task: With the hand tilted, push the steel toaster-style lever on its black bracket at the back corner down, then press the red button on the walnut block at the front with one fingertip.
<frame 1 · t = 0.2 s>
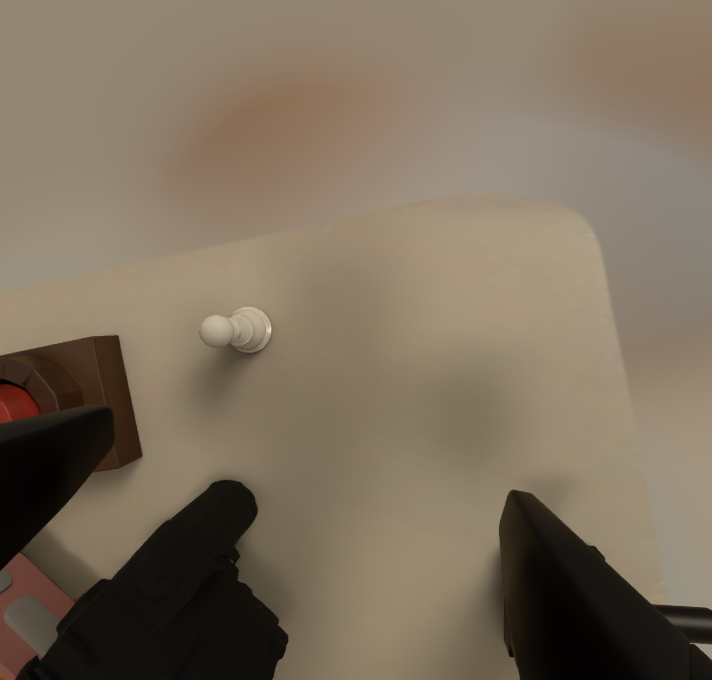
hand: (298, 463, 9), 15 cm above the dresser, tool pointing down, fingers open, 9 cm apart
film camera: (213, 590, 26), on the dresser, touching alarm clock
chess pawn: (251, 329, 25), on the dresser
button box: (62, 408, 27), on the dresser
bracket: (548, 594, 23), on the dresser
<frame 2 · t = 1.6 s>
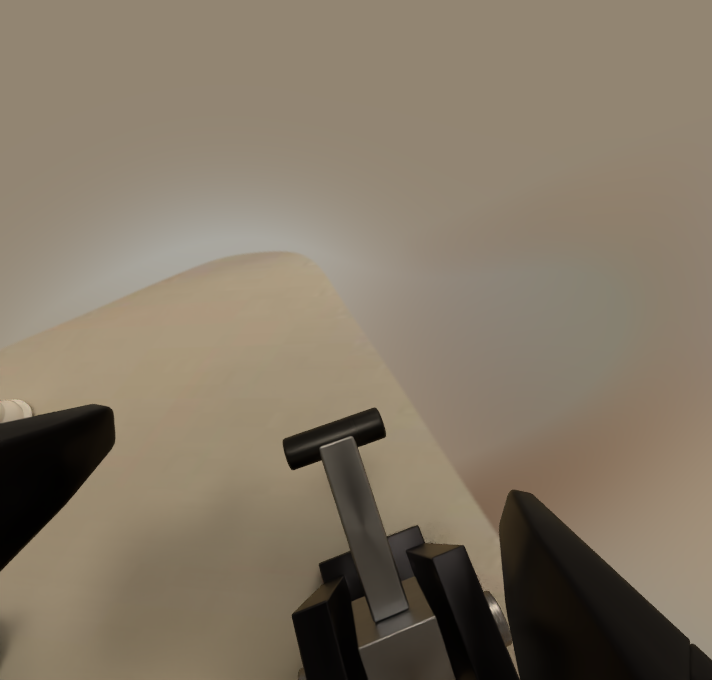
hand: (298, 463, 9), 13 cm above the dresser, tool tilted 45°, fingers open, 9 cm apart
chess pawn: (11, 425, 23), on the dresser
bracket: (391, 611, 19), on the dresser
lever: (374, 560, 12), point 9 cm above the dresser, hinge at 20.0°
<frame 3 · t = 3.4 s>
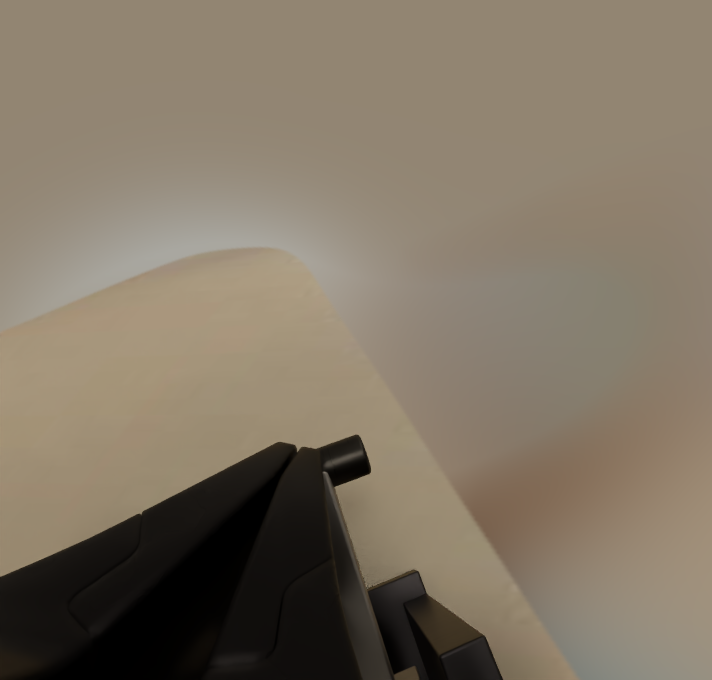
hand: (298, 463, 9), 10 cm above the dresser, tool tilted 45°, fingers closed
lever: (356, 645, 9), point 9 cm above the dresser, hinge at 14.5°, touching gripper
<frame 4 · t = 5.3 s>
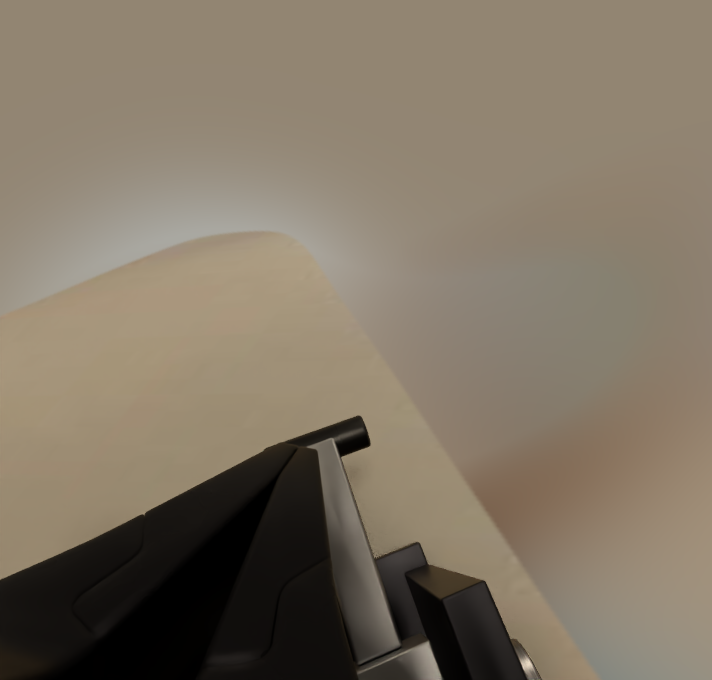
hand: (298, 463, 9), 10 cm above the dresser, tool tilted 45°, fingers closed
bracket: (387, 648, 15), on the dresser
lever: (359, 587, 10), point 8 cm above the dresser, hinge at -6.3°
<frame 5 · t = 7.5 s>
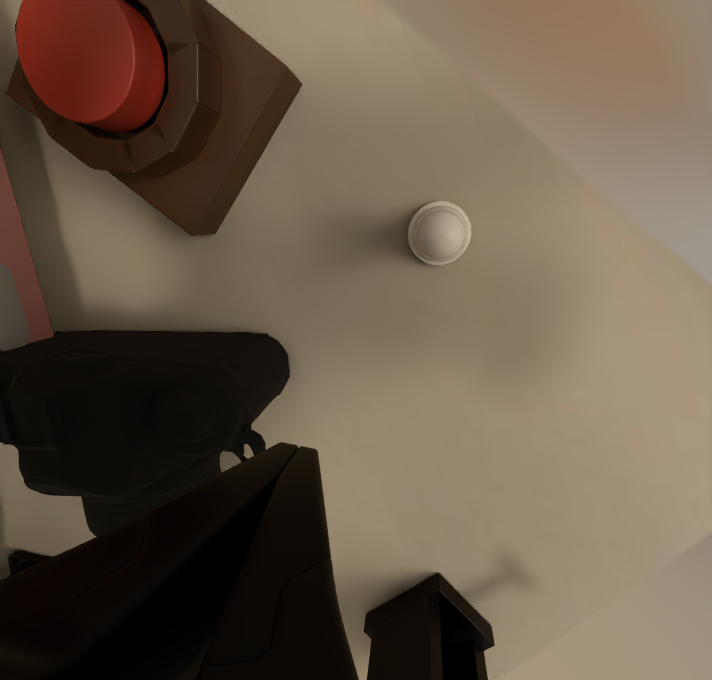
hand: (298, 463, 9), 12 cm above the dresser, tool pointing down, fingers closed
button: (94, 59, 14), point 5 cm above the dresser, slide at 0.2 cm
film camera: (179, 403, 23), on the dresser, touching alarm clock
chess pawn: (438, 233, 19), on the dresser
button box: (169, 96, 19), on the dresser
bracket: (427, 619, 25), on the dresser
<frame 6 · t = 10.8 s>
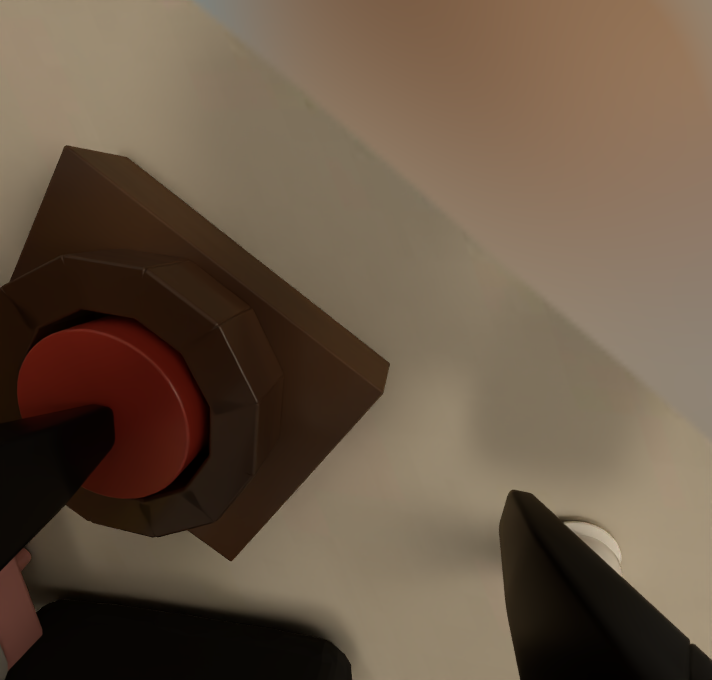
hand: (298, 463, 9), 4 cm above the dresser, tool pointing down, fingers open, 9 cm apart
button: (126, 403, 10), point 4 cm above the dresser, slide at -0.8 cm, touching gripper
chess pawn: (568, 547, 14), on the dresser
button box: (199, 357, 13), on the dresser
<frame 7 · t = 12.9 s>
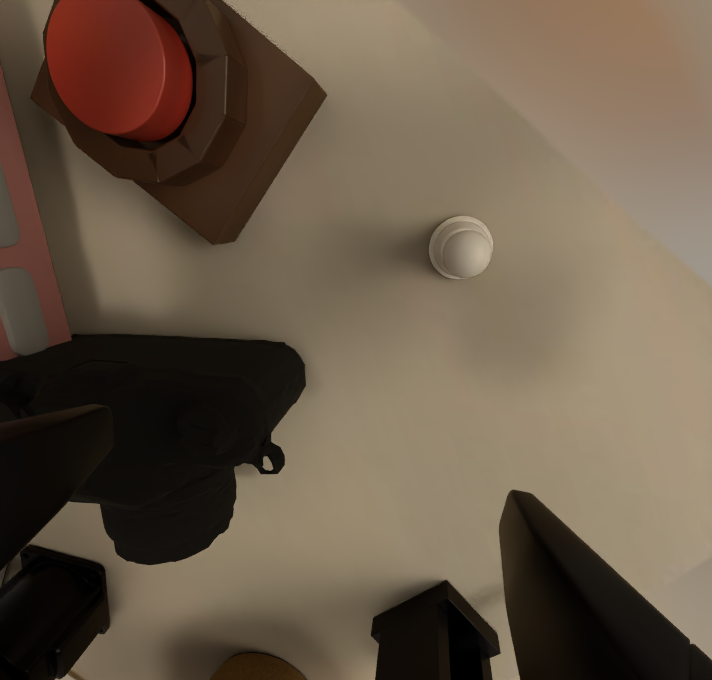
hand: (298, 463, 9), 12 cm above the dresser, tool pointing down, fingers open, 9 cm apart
button: (122, 70, 14), point 5 cm above the dresser, slide at 0.2 cm
film camera: (193, 408, 23), on the dresser, touching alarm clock
chess pawn: (459, 247, 19), on the dresser
button box: (192, 103, 19), on the dresser
bracket: (433, 625, 26), on the dresser
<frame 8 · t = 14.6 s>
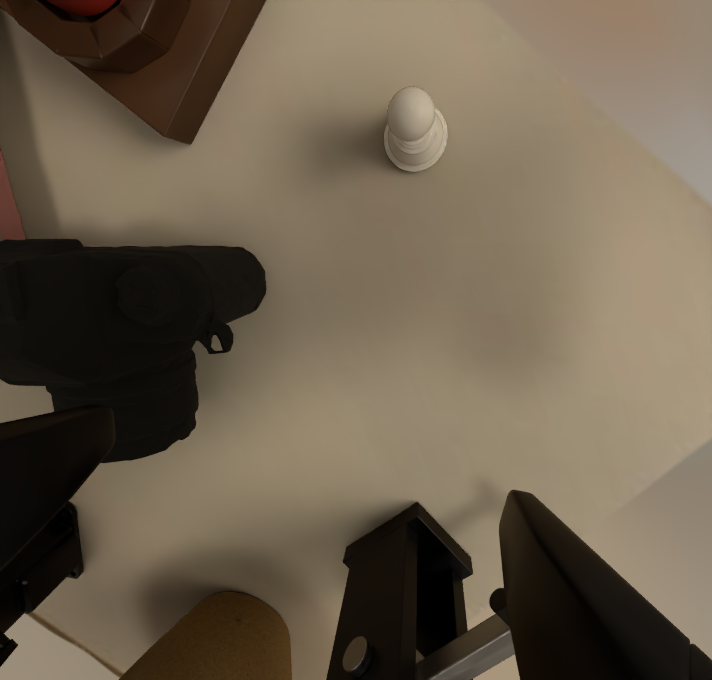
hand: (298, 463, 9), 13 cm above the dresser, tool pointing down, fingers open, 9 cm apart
film camera: (156, 326, 23), on the dresser, touching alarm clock
chess pawn: (415, 139, 18), on the dresser
bracket: (406, 552, 25), on the dresser
plant pot: (245, 628, 30), on the dresser
lever: (450, 666, 17), point 8 cm above the dresser, hinge at -6.3°
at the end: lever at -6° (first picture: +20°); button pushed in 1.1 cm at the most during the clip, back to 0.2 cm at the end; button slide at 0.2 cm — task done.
